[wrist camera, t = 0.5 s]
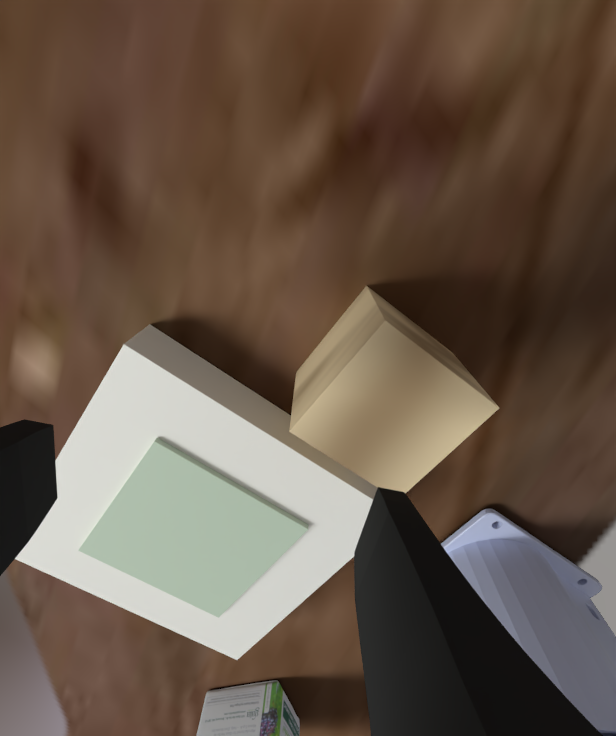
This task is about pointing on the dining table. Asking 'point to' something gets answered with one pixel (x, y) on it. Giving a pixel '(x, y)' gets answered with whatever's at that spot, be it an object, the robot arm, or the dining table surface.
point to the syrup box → (248, 712)
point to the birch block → (385, 396)
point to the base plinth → (195, 501)
